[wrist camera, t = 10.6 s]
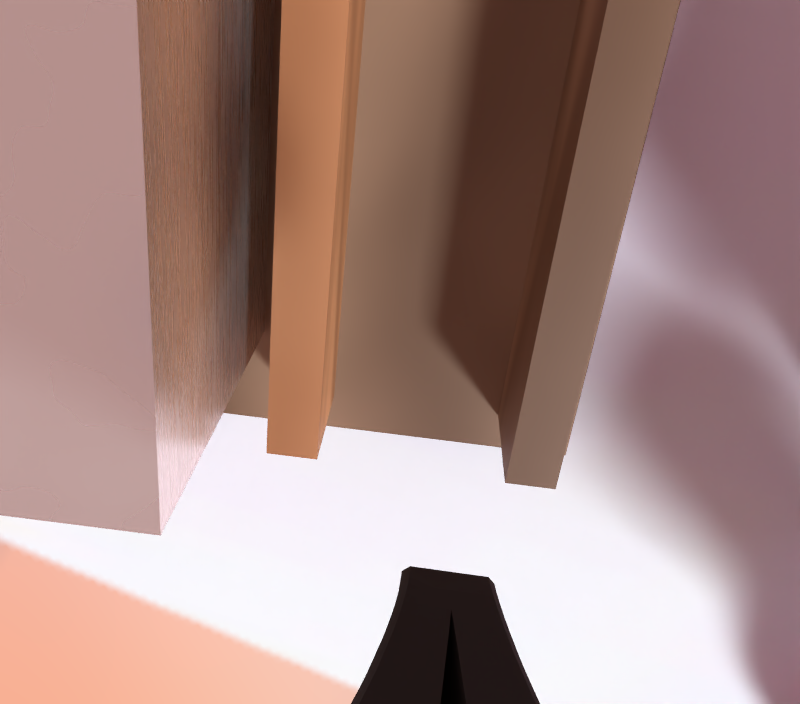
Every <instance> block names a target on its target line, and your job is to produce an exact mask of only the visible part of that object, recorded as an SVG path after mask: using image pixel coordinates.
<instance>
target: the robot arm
mask: <svg viewBox="0 0 800 704" xmlns="http://www.w3.org/2000/svg"><path fill="white" fill-rule="evenodd" d="M351 704H540V703H539V701H538V698H537V696H536V694H535V692H534V690H533V687H532V685H531V683H530V681H529V678H528V676H527V674H526V672H525V669H524V667H523V665H522V662H521V660H520V657H519V655H518V652H517V650H516V647H515V645H514V642H513V640H512V637H511V634H510V632H509V629H508V626H507V623H506V621H505V618H504V615H503V612H502V609H501V606H500V603H499V599H498V596H497V593H496V589H495V585H494V583H493V582H492V581H491V580H490V578H489V577H483V576H476V575H469V574H462V573H454V572H447V571H440V570H433V569H426V568H418V567H411V566H410V567H408V568H407V569H405V570H403V571H402V574H401V581H400V587H399V592H398V596H397V600H396V603H395V606H394V609H393V612H392V615H391V618H390V621H389V623H388V626H387V629H386V631H385V634H384V636H383V639H382V641H381V643H380V645H379V648H378V650H377V652H376V654H375V657H374V659H373V661H372V663H371V666H370V668H369V670H368V672H367V674H366V676H365V678H364V680H363V682H362V684H361V686H360V688H359V690H358V692H357V694H356V696H355V697H354V699H353V701H352V703H351Z"/></svg>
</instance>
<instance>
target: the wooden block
mask: <svg viewBox="0 0 800 704" xmlns="http://www.w3.org/2000/svg"><path fill="white" fill-rule="evenodd" d="M274 3H275V0H0V515H3V516H11V517H19V518H27V519H35V520H43V521H51V522H59V523H67V524H75V525H83V526H90V527H98V528H106V529H114V530H122V531H130V532H138V533H146V534H154V535H161V534H162V532H163V530H164V528H165V526H166V524H167V522H168V520H169V518H170V516H171V514H172V512H173V510H174V508H175V506H176V504H177V502H178V500H179V498H180V497H181V495H182V493H183V491H184V489H185V487H186V485H187V483H188V481H189V479H190V477H191V475H192V473H193V471H194V469H195V467H196V465H197V463H198V461H199V459H200V457H201V455H202V453H203V451H204V449H205V447H206V445H207V443H208V441H209V439H210V437H211V435H212V433H213V432H214V430H215V428H216V426H217V424H218V422H219V420H220V418H221V416H222V414H223V412H224V410H225V408H226V406H227V404H228V402H229V400H230V398H231V396H232V394H233V392H234V390H235V388H236V386H237V384H238V382H239V380H240V378H241V376H242V374H243V372H244V370H245V369H246V367H247V365H248V363H249V361H250V359H251V357H252V355H253V353H254V351H255V349H256V347H257V345H258V343H259V341H260V339H261V337H262V335H263V333H264V327H265V294H266V262H267V229H268V197H269V165H270V132H271V100H272V68H273V35H274Z"/></svg>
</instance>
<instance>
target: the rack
mask: <svg viewBox="0 0 800 704" xmlns="http://www.w3.org/2000/svg"><path fill="white" fill-rule="evenodd" d="M680 1H681V0H275V3H274V35H273V68H272V100H271V132H270V165H269V197H268V229H267V262H266V294H265V327H264V333H263V335H262V337H261V339H260V341H259V343H258V345H257V347H256V349H255V351H254V353H253V355H252V357H251V359H250V361H249V363H248V365H247V367H246V369H245V370H244V372H243V374H242V376H241V378H240V380H239V382H238V384H237V386H236V388H235V390H234V392H233V394H232V396H231V398H230V400H229V402H228V404H227V406H226V408H225V410H224V412H223V413H229V414H238V415H246V416H254V417H262V418H268V428H267V453H270V454H278V455H286V456H294V457H302V458H310V459H317V457H318V453H319V449H320V446H321V442H322V438H323V435H324V431H325V427H326V426H334V427H342V428H350V429H358V430H366V431H374V432H382V433H390V434H398V435H406V436H414V437H422V438H430V439H438V440H446V441H454V442H462V443H470V444H478V445H486V446H495V447H501V448H502V457H503V467H504V476H505V483H511V484H519V485H527V486H535V487H543V488H551V489H556V485H557V481H558V477H559V473H560V469H561V465H562V461H563V457H564V455H565V454H566V451H567V447H568V443H569V439H570V435H571V431H572V427H573V423H574V419H575V415H576V411H577V407H578V403H579V399H580V395H581V391H582V387H583V383H584V379H585V376H586V372H587V368H588V364H589V360H590V356H591V352H592V348H593V344H594V340H595V336H596V332H597V328H598V324H599V320H600V316H601V312H602V308H603V305H604V301H605V297H606V293H607V289H608V285H609V281H610V277H611V273H612V269H613V265H614V261H615V257H616V253H617V249H618V245H619V241H620V237H621V233H622V230H623V226H624V222H625V218H626V214H627V210H628V206H629V202H630V198H631V194H632V190H633V186H634V182H635V178H636V174H637V170H638V166H639V162H640V158H641V155H642V151H643V147H644V143H645V139H646V135H647V131H648V127H649V123H650V119H651V115H652V111H653V107H654V103H655V99H656V95H657V91H658V87H659V84H660V80H661V76H662V72H663V68H664V64H665V60H666V56H667V52H668V48H669V44H670V40H671V36H672V32H673V28H674V24H675V20H676V16H677V12H678V9H679V5H680Z"/></svg>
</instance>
